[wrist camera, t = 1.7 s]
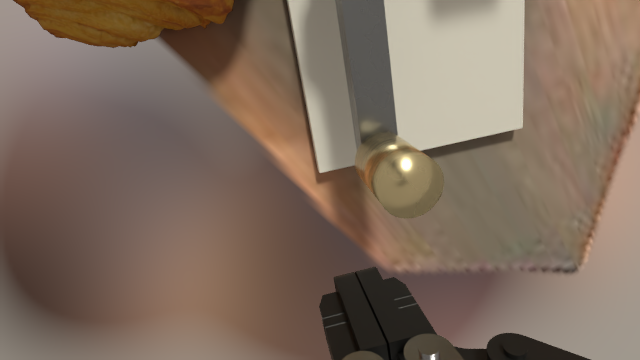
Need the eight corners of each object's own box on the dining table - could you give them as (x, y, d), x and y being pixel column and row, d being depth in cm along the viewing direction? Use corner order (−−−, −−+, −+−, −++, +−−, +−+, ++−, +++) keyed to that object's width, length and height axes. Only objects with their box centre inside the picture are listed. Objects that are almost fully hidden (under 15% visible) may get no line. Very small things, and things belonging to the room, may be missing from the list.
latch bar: (305, -103, 22) (329, -155, 16) (376, -114, 22) (426, -168, 16) (349, 183, 28) (379, 226, 22) (405, 170, 28) (449, 209, 22)
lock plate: (263, -123, 25) (270, -176, 19) (544, -164, 27) (638, -225, 21) (317, 169, 32) (335, 203, 26) (537, 120, 34) (605, 141, 28)
